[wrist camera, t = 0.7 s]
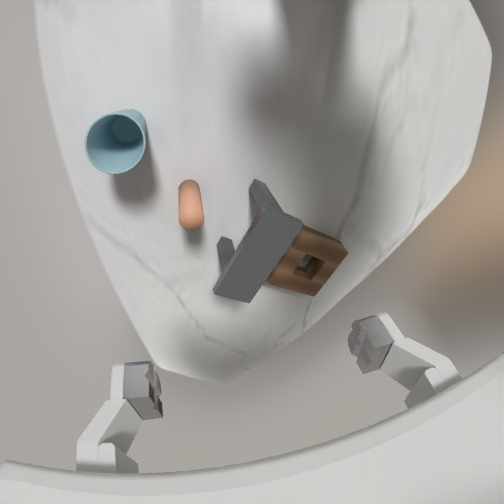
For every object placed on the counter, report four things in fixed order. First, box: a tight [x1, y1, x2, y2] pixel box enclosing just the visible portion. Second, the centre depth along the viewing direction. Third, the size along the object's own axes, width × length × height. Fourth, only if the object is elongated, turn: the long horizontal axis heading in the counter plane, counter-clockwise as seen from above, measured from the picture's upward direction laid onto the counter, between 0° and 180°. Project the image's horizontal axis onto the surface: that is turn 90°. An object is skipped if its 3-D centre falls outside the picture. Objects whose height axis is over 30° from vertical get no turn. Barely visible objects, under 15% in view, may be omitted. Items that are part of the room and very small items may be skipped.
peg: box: [179, 180, 204, 230], centre depth 43 cm, size 3×3×10 cm
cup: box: [85, 109, 146, 174], centre depth 35 cm, size 8×8×10 cm
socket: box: [266, 225, 348, 296], centre depth 59 cm, size 12×12×4 cm
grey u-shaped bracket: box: [213, 179, 304, 303], centre depth 47 cm, size 15×6×13 cm, turn 150°
